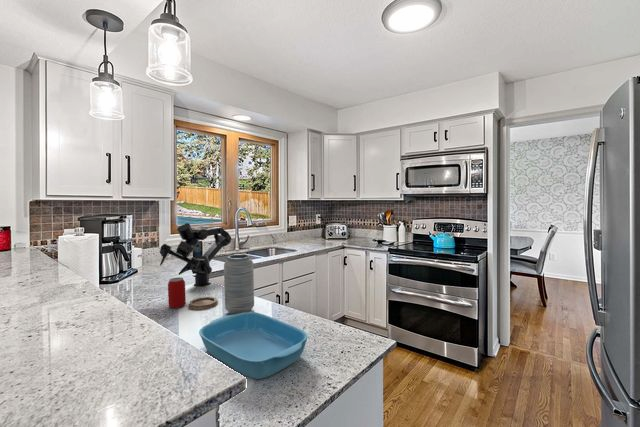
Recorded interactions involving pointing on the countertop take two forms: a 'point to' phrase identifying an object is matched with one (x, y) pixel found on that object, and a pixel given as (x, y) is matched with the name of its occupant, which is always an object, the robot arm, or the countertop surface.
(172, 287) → the beverage can
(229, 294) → the vase
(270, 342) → the casserole dish
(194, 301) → the coaster
